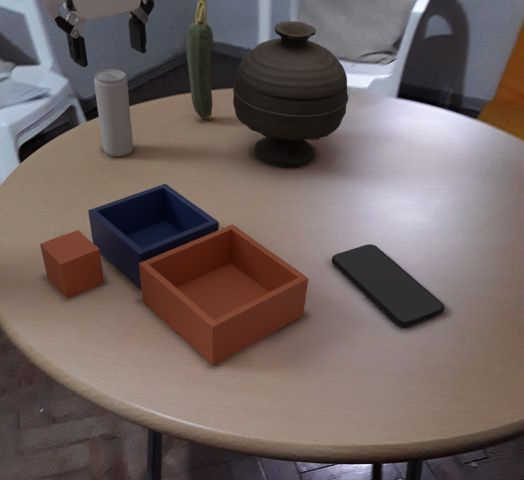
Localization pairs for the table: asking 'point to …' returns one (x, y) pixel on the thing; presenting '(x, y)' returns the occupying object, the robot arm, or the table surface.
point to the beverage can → (114, 112)
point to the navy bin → (146, 227)
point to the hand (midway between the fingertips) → (110, 57)
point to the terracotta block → (72, 263)
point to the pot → (290, 95)
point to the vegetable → (200, 61)
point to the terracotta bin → (223, 292)
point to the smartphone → (388, 285)
